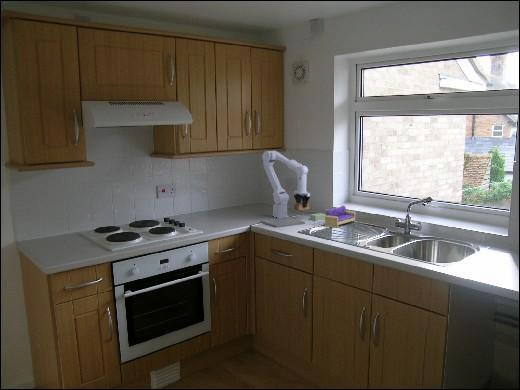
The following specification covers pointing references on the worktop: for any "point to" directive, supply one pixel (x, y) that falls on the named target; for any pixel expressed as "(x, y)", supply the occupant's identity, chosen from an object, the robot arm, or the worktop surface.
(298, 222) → the baseplate
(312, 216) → the sage block
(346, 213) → the toy sofa
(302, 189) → the robot arm
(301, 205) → the walnut block
